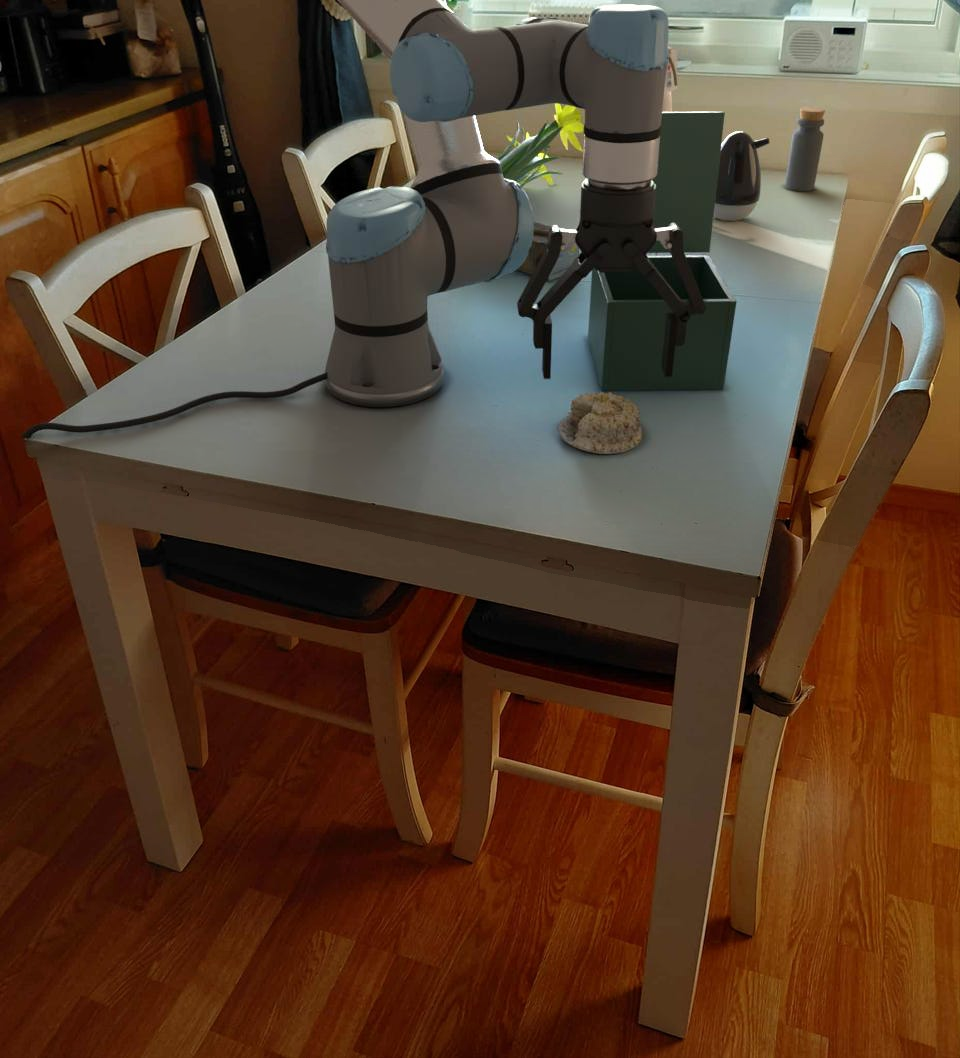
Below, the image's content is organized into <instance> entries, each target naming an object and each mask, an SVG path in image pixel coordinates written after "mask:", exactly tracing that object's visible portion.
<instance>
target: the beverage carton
mask: <svg viewBox="0 0 960 1058" xmlns="http://www.w3.org/2000/svg"><path fill="white" fill-rule="evenodd" d="M533 222H534V231H533V239H532V244H531V247H530V248H529V252H528V255H527V257H526V259H525V261H524V262H523V264H522V265H521V266H520V267H519V268H518V269H517V270H516V271H518V272H522V273H524V274H527V275H530V276H531V275H532V273H533V271H534V270H535V268H536V266H537V264H538V262H539V260H540V258H541V256H542V254H543V252H544V250H545V249H546V247H547V242H548V235H549V229H550V227H551V226H552V225H549V224H545V223H542V222H539V221H536V220H533ZM579 254H580V249H579V248H578V246H577V245H576V242H572V243H570V244H569V245H568V248H567V249H566V250H565V251H560V255H559V258H558V260H557V262H556V264H555V266H554V268H553V270H552V272H551V273H550V275H549V277H548V279H547V281H546V282H550V281H554V280H555V279H559V278H560V277H561V276H562V275H563V274H564V272H565V271H566V270H567V269H568V268H569V267H570V266H571V265H572V263H573V261H574V259H575V258H576V257H577V256H578V255H579Z"/></svg>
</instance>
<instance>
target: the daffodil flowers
mask: <svg viewBox="0 0 960 1058" xmlns="http://www.w3.org/2000/svg"><path fill="white" fill-rule="evenodd" d="M561 105H562V104H559V103H554V108H555V114H554V115H553V118H554V120H553V121H552V122H551V123H550V124H548V119H547V120H546V121H545V122H544V124H543V125H542V127H541V128H540V130H539V132H538V133H537V134H536V135H535V136H530V133H529V132H528V131H527V132H526V133H525V131H524V127H522V128H521V129H522V130H521V132H522V133H521V142H519V140H518V138H519V135H520V123H519V120H518V119H517V120H516V133H515V135H514V137H511V136H509V135H505V136H506V139H507V141H509V142H510V143H509V144H508V145H507V147H506V148H504V150H503V151H502V153H501V154H500V155H499V156H498V158H496V160H498V161H499V162H500V166H501V169H502V173H503V177H504V179H509V180H512V181H515V182H516V183H518V184H519V185H520V186H521V189H522V188H523V187H524V186H525V185H527V184H528V183H531V182H532V181H534V180H536V179H538V178H540V177H541V178H542V179H543V180H545V182H547V183H548V184H549V185H551V186H554V183H553V179H552V175H563V173H562V172H559V171H556V170H548V169H547V167H546V166H545V165H544V164H546V163H549V162H552V161H554V160H557V159H560V158H561V156H548V155H547V153H548V152H547V151H548V150H547V149H550V148H554V147H555V145H550V144H551V143H552V142H553V140H554V139H555V138H556V137H557V136H558V135H559V137H560V141H561V143H562V144H563V146H564V148H565V149H566V150H567V151H568V150H569V149H568V148H569V142H570V144H571V145H572V146H573V147H574V148H575V149H577V150H578V151H579V152H581V153H583V148H582V145H581V144H580V141H579V139H578V138H577V136H576V133H577V134H579V133H580V134H581V133H584V124H583V123H581V122H582V120H583V115H582V113H581V110H579V109H580V108H578V107H574V106H569V105H564V107H563V108H562V106H561ZM547 124H548V125H547ZM568 141H569V142H568ZM513 147H514V149H513V150H511V149H512V148H513ZM533 171H534V172H533Z"/></svg>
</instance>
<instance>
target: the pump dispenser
mask: <svg viewBox="0 0 960 1058" xmlns="http://www.w3.org/2000/svg"><path fill="white" fill-rule="evenodd" d="M766 145H770V138H769V137H765V138H761V139H758V140H754V139H753V138H752V136H751V135H750V134H748V133H747V132H745V131H734V132H732V133H730V134H729V135H727V136H726V138H725V139H724V141H722V143H721V152H720V161H719V171H718V180H717V189H716V198H715V207H714V216H713V218H716V219H718V220H721V221H727V222H735V221H740V220H744V219H745V218H747V217H748V216H749V215H751V214H752V213H753V211H754V209H755V208H756V206H757V203H758V202H759V201H760V198H761V191H762V190H761V189H762V187H761V186H762V175H761V174H762V173H761V165H760V164H761V163H760V158H759V154H758V149H761V148H762V147H764V146H766Z"/></svg>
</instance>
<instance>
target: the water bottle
mask: <svg viewBox="0 0 960 1058" xmlns="http://www.w3.org/2000/svg"><path fill="white" fill-rule="evenodd" d="M668 54H669V60H668V64H667V70H666V78H665V87H664V97H663V108H662V112H673V101H672V100H673V99H672V98H673V97H672V92H673V91H676V90H677V89H678V49H677V48H675V49H673V48H672V47H671V46H669V45H668Z"/></svg>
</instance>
